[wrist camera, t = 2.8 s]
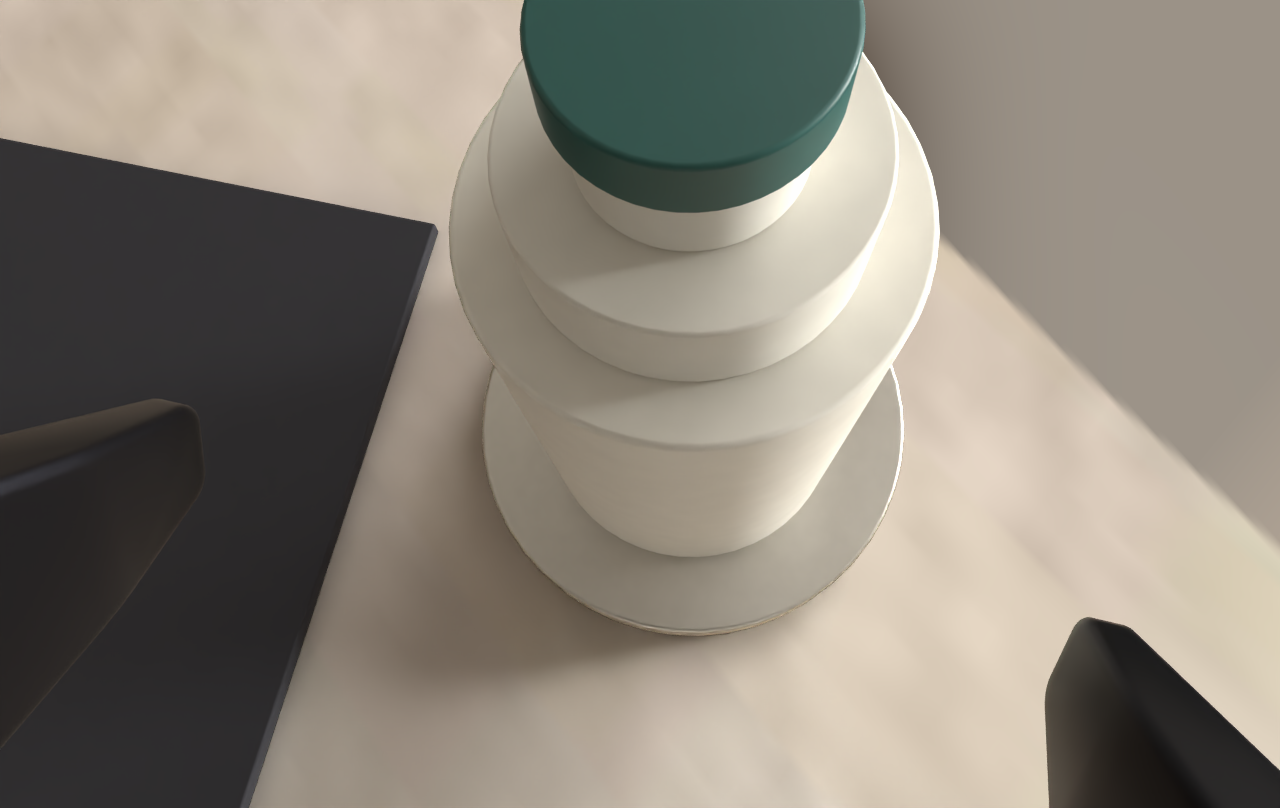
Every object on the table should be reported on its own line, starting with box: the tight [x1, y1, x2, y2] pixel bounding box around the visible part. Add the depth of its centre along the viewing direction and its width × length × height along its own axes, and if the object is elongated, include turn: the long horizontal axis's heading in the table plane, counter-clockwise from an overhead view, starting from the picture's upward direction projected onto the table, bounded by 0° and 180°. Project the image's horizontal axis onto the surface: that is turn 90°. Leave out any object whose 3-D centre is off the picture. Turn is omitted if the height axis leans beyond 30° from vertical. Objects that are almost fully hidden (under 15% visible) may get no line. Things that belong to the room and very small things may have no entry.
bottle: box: [449, 0, 939, 557], centre depth 14 cm, size 6×6×12 cm
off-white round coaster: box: [482, 365, 904, 636], centre depth 21 cm, size 9×9×1 cm
